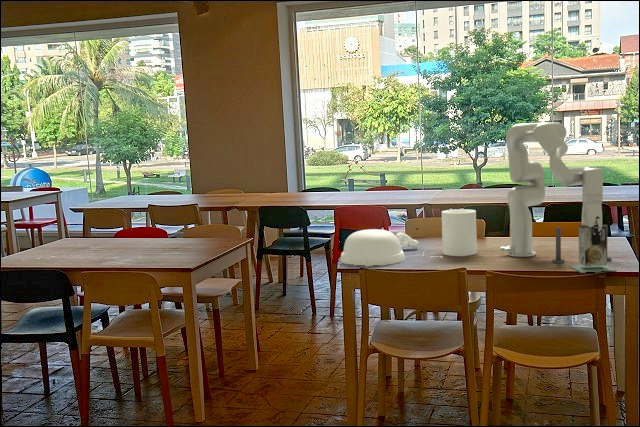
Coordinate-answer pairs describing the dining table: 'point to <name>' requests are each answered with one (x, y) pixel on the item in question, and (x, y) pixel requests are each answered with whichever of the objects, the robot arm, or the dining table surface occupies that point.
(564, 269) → the dining table surface
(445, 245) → the canister
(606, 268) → the green mat
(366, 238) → the dome cover
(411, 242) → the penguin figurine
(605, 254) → the coffee box
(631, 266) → the dining table surface
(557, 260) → the post
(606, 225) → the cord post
